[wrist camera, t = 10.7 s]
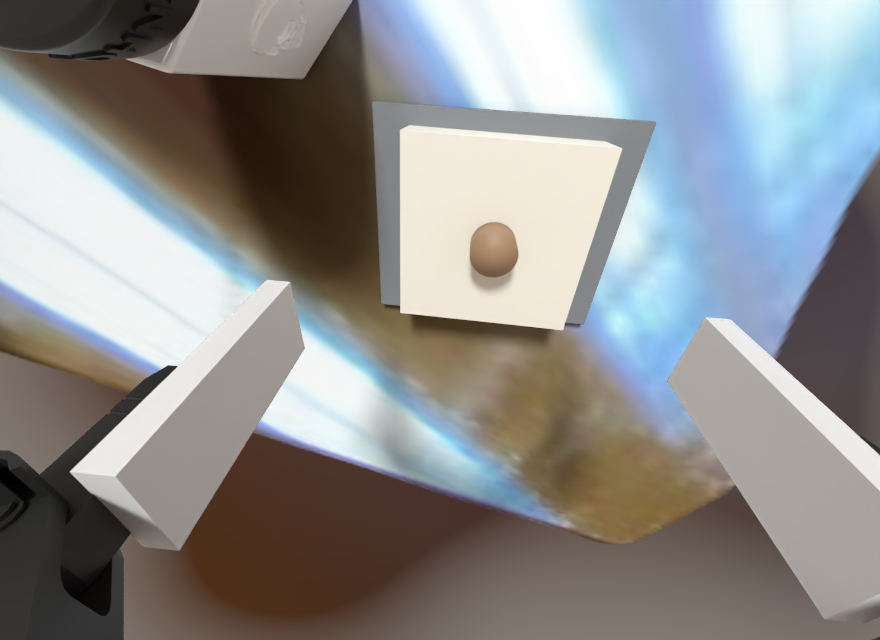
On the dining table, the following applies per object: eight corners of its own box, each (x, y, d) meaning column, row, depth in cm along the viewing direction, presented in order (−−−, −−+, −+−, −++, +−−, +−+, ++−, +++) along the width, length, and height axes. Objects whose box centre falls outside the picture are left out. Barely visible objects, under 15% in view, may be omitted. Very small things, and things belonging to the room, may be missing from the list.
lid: (407, 292, 23) (395, 326, 20) (409, 124, 18) (392, 133, 14) (555, 308, 23) (568, 345, 20) (605, 141, 17) (634, 153, 14)
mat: (383, 299, 25) (381, 303, 24) (375, 101, 18) (372, 101, 17) (581, 319, 24) (583, 324, 23) (651, 121, 17) (656, 122, 17)
